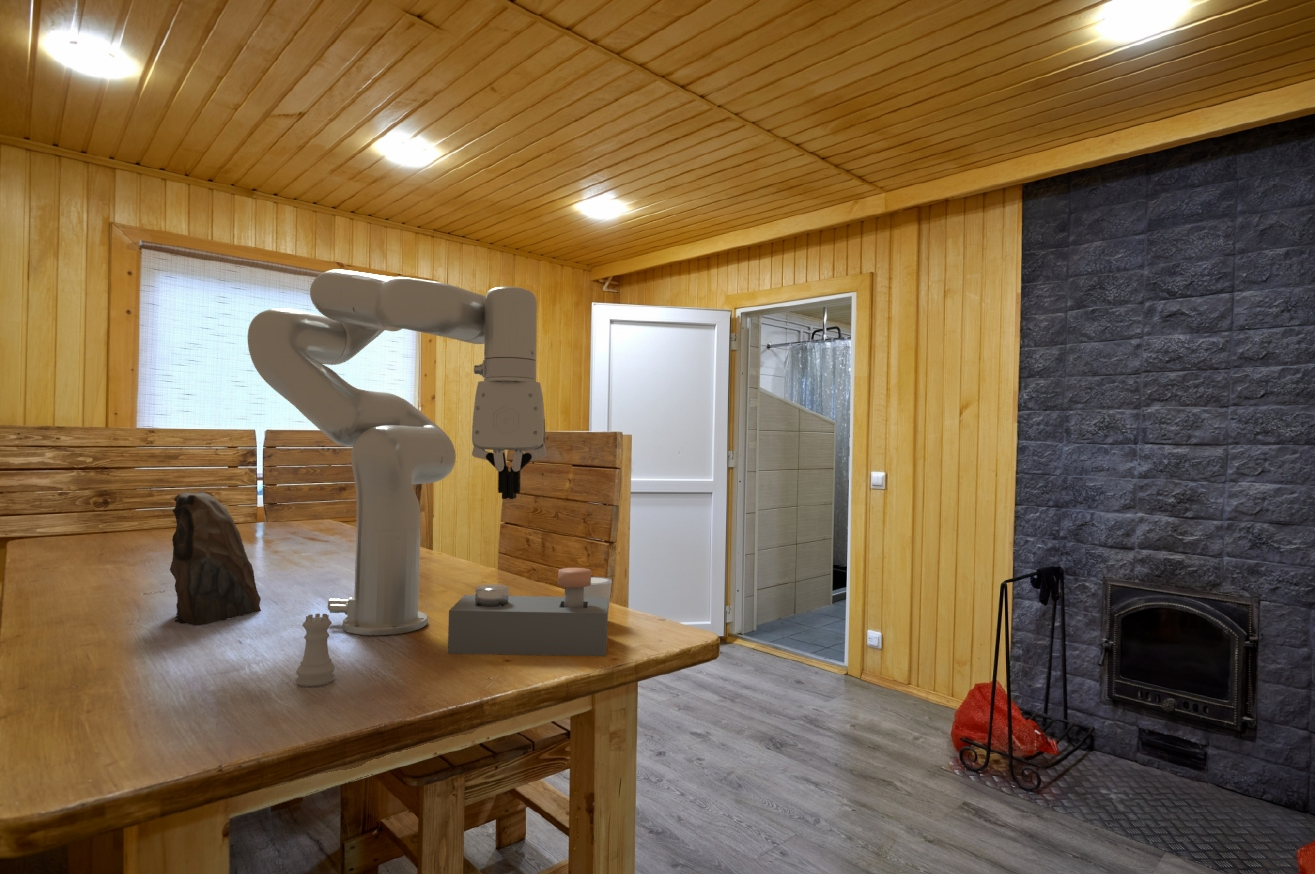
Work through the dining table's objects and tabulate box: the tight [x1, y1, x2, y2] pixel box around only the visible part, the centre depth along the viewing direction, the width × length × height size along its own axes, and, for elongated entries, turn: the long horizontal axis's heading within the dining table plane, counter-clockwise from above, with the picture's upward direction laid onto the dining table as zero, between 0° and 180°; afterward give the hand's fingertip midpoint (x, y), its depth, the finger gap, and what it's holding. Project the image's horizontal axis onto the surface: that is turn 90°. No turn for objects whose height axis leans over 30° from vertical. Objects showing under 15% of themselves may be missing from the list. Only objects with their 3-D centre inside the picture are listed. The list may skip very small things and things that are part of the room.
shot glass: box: [584, 576, 613, 612], centre depth 120 cm, size 7×7×7 cm
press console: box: [447, 594, 609, 657], centre depth 105 cm, size 22×10×6 cm, turn 93°
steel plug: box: [474, 584, 510, 606], centre depth 105 cm, size 5×5×8 cm
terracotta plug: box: [557, 567, 592, 608], centre depth 105 cm, size 5×5×8 cm
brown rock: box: [169, 490, 262, 627], centre depth 116 cm, size 13×13×20 cm
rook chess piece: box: [294, 613, 336, 688], centre depth 87 cm, size 4×4×8 cm
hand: (509, 498), depth 105 cm, fingers closed
